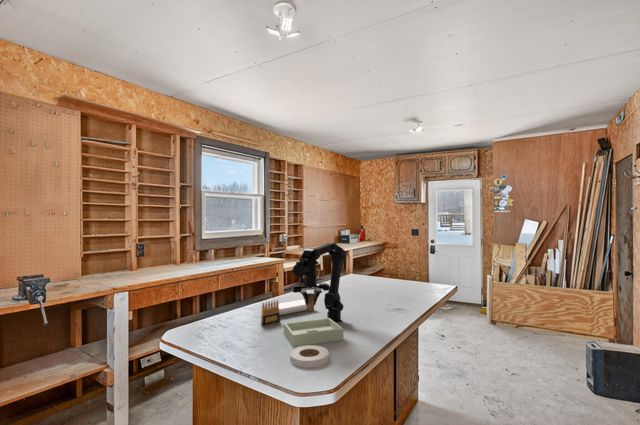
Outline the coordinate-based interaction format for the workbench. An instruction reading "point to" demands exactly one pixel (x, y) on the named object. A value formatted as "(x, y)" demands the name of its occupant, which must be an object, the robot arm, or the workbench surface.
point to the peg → (310, 302)
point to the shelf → (292, 307)
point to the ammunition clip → (270, 313)
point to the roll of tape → (314, 361)
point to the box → (312, 332)
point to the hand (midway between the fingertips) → (310, 305)
